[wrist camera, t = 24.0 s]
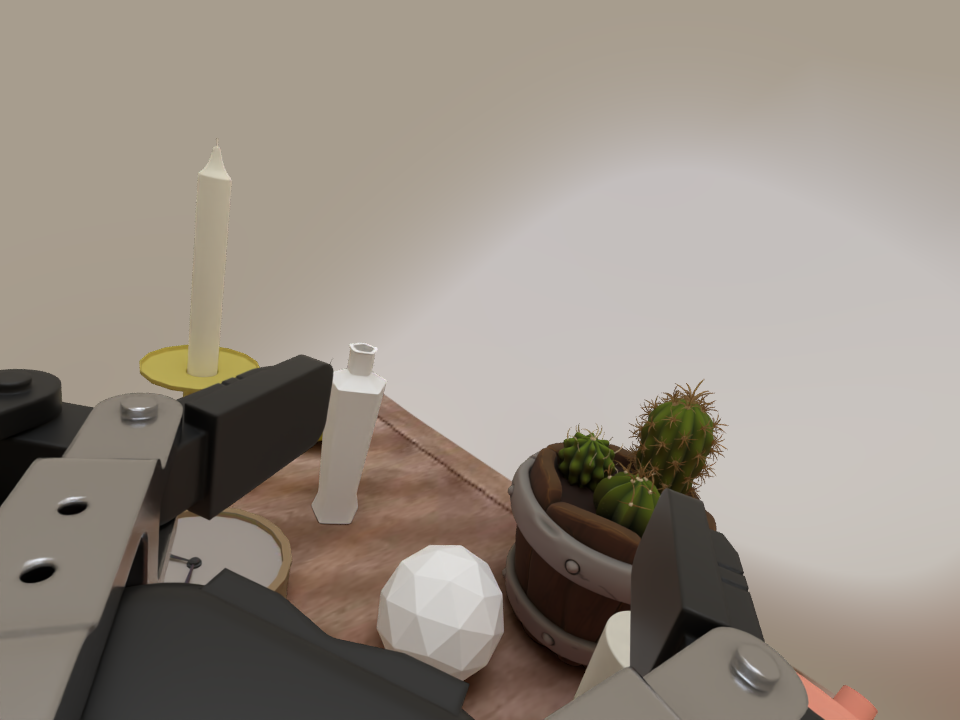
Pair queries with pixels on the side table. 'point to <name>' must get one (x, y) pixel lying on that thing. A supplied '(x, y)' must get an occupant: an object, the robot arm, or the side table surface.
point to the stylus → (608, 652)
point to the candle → (203, 297)
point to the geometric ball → (443, 610)
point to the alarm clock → (230, 549)
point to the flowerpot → (596, 521)
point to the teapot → (839, 703)
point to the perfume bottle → (348, 435)
